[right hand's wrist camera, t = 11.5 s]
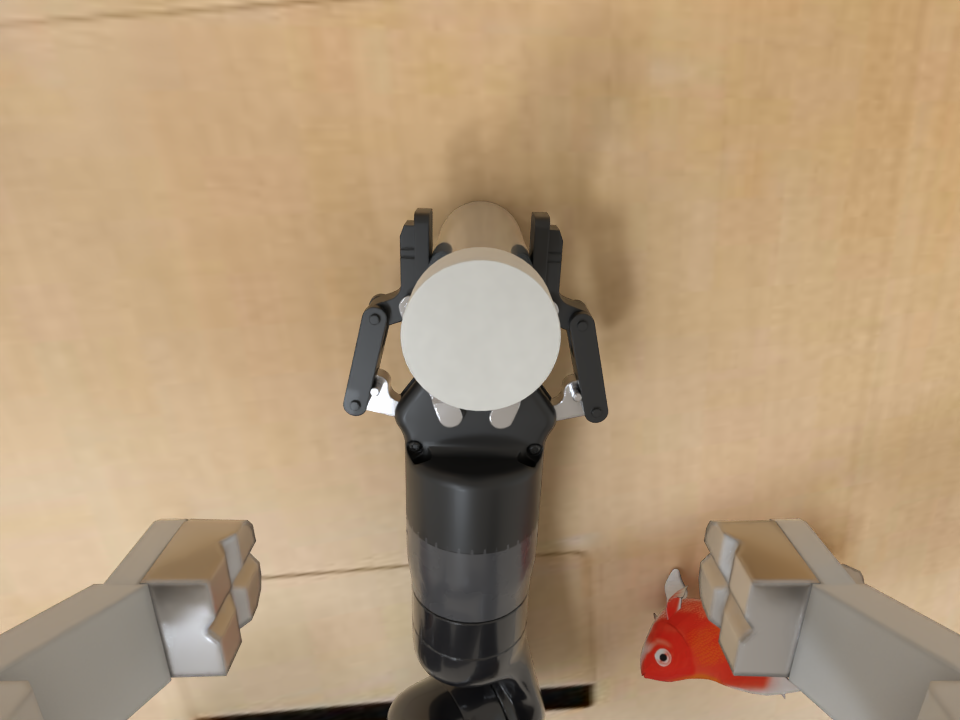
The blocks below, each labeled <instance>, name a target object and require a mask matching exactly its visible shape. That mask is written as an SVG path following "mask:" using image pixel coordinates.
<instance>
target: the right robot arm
mask: <svg viewBox="0 0 960 720" xmlns="http://www.w3.org/2000/svg"><path fill="white" fill-rule="evenodd" d="M255 542H256V539H255V534H254V529H253V525H252V524H251V523H250V522H249V521H248V520H216V519H190V520H188V519H160V520H157V521H155V522H153V523H152V524H151V526H150V527H149V528H148V529H147V531H146V532H145V533H144V534H143V536H142V537H141V538H140V539H139V541H138V542H137V543H136V544H135V546H134V547H133V548H132V549H131V550H130V552H129V553H128V554H127V555H126V557H125V558H124V559H123V560H122V562H121V563H120V564H119V565H118V567H117V568H116V569H115V570H114V572H113V573H112V574H111V575H110V576H109V578H108V579H107V580H106V581H105V583H104V584H93V585H91V586H89V587H88V588H86V589H84V590H82V591H80V592H78V593H76V594H75V595H73V596H71V597H69V598H67V599H65V600H63V601H62V602H60V603H58V604H56V605H54V606H52V607H51V608H49V609H47V610H45V611H43V612H41V613H39V614H38V615H36V616H34V617H32V618H30V619H28V620H26V621H25V622H23V623H21V624H19V625H17V626H15V627H14V628H12V629H10V630H8V631H6V632H4V633H2V634H1V635H0V720H127V719H128V718H129V717H131V716H132V715H133V714H134V713H135V712H136V711H137V710H139V709H140V708H141V707H142V706H143V705H144V704H145V703H146V702H148V701H149V700H150V699H151V698H152V697H153V696H154V695H155V694H157V693H158V692H159V691H160V690H161V689H162V688H163V687H164V686H166V685H167V684H168V683H169V682H170V681H171V677H202V676H226V675H227V673H228V671H229V669H230V667H231V664H232V662H233V660H234V658H235V656H236V653H237V651H238V649H239V647H240V645H241V643H242V639H241V634H240V628H242V627H243V626H244V625H246V624H247V623H248V622H250V621H251V620H252V618H253V616H254V613H255V611H256V609H257V606H258V601H259V596H260V591H261V570H260V563H259V561H258V560H256V559H255V558H254V557H253V556H252V555H251V554H250V551H251V549H252V547H253V545H254V544H255ZM704 542H705V544H706V545H707V547H708V549H709V551H710V554H709V555H708V556H707V557H706V558H704V559H703V560H702V561H701V563H700V571H699V591H700V598H701V602H702V605H703V609H704V611H705V613H706V616H707V618H708V620H709V621H710V622H712V623H713V624H714V625H716V626H717V627H718V628H720V634H719V639H718V643H719V645H720V647H721V649H722V651H723V653H724V656H725V658H726V660H727V662H728V664H729V666H730V669H731V671H732V673H733V675H734V676H757V677H789V681H790V682H791V683H792V684H794V685H795V686H796V687H797V688H798V689H799V690H800V691H801V692H803V693H804V694H805V695H806V696H807V697H808V698H809V699H810V700H812V701H813V702H814V703H815V704H816V705H817V706H818V707H819V708H821V709H822V710H823V711H824V712H825V713H826V714H827V715H829V716H830V717H831V718H832V719H833V720H960V635H959V634H957V633H955V632H954V631H952V630H950V629H948V628H946V627H944V626H943V625H941V624H939V623H937V622H935V621H933V620H931V619H930V618H928V617H926V616H924V615H922V614H920V613H919V612H917V611H915V610H913V609H911V608H909V607H908V606H906V605H904V604H902V603H900V602H898V601H896V600H895V599H893V598H891V597H889V596H887V595H885V594H884V593H882V592H880V591H878V590H876V589H874V588H872V587H871V586H869V585H867V584H856V583H855V581H854V580H853V579H852V578H851V576H850V575H849V574H848V573H847V572H846V570H845V569H844V568H843V567H842V565H841V564H840V563H839V562H838V560H837V559H836V558H835V557H834V556H833V554H832V553H831V552H830V551H829V549H828V548H827V547H826V546H825V544H824V543H823V542H822V541H821V539H820V538H819V537H818V536H817V535H816V533H815V532H814V531H813V530H812V528H811V527H810V526H809V525H808V523H807V522H805V521H803V520H801V519H770V520H746V521H710V522H709V524H708V526H707V528H706V533H705V539H704Z"/></svg>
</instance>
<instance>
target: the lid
mask: <svg viewBox="0 0 960 720" xmlns="http://www.w3.org/2000/svg"><path fill="white" fill-rule="evenodd" d="M560 343H561V329H560V321H559V317H558V313H557V311H556V308H555V305H554V303H553V300H552V298H551V295H550V293H549V290H548V288H547V286H546V284H545V283H544V281H543V279H542V278H541V277H540V275H539V274H538V273H537V271H535V270H534V269H533V268H532V267H531V266H530V265H529V264H528V263H527V262H525V261H524V260H523V259H521V258H519V257H517V256H516V255H514V254H511V253H509V252H506V251H504V250H500V249H496V248H488V247H473V248H466V249H462V250H458V251H455V252H452V253H450V254H448V255H446V256H444V257H442V258H441V259H439V260H437V261H436V262H435V263H434V264H432V265H431V266H430V267H429V268H428V269H427V270H426V271H425V272H424V273H423V274H422V276H421V277H420V279H419V280H418V281H417V283H416V285H415V287H414V289H413V291H412V294H411V296H410V299H409V301H408V304H407V307H406V309H405V312H404V315H403V319H402V324H401V347H402V351H403V356H404V358H405V361H406V364H407V366H408V368H409V370H410V372H411V373H412V375H413V376H414V378H415V379H416V381H417V382H418V383H419V384H420V385H421V386H422V387H423V388H424V389H425V390H426V391H427V392H428V393H430V394H431V395H432V396H434V397H435V398H437V399H438V400H440V401H442V402H444V403H446V404H448V405H451V406H454V407H457V408H461V409H465V410H473V411H489V410H496V409H500V408H504V407H508V406H510V405H513V404H515V403H517V402H519V401H521V400H523V399H525V398H526V397H528V396H529V395H530V394H532V393H533V392H534V391H535V390H536V389H538V388H539V387H540V386H541V384H542V383H543V382H544V381H545V380H546V379H547V377H548V375H549V374H550V372H551V371H552V369H553V367H554V365H555V363H556V360H557V357H558V354H559V349H560Z"/></svg>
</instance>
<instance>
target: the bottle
mask: <svg viewBox="0 0 960 720" xmlns="http://www.w3.org/2000/svg"><path fill="white" fill-rule="evenodd" d="M473 247H488V248H496V249H500V250H504V251H506V252H509V253H511V254H514V255H516V256H517V257H519V258H521V259H523V260H524V261H525V262H527V263H528V264H529V265H530V266H531V267H532V268H533V265H532V262H531V259H530V256H529V253H528V250H527V247H526V245H525V242H524V239H523V236H522V233H521V230H520V228H519V225H518V223H517V222H516V220H515V219H514V217H513V216H512V215H511V214H510V213H509V212H508V211H507V210H506V209H504V208H503V207H501V206H499V205H497V204H494V203H491V202H486V201H475V202H470V203H467V204H464V205H462V206H460V207H458V208H457V209H455V210H454V211H453V212H452V213H451V214H450V215H449V216H448V217H447V219H446V220H445V222H444V223H443V225H442V228H441V230H440V233H439V236H438V239H437V242H436V245H435V248H434V251H433V254H432V257H431V260H430V262H429V265H428V268H429V267H430V266H431V265H432V264H434V263H435V262H436V261H437V260H439V259H441V258H442V257H444V256H446V255H448V254H450V253H452V252H455V251H458V250H462V249H466V248H473ZM428 268H427V269H428ZM533 269H534V268H533Z"/></svg>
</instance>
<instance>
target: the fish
mask: <svg viewBox="0 0 960 720" xmlns="http://www.w3.org/2000/svg"><path fill="white" fill-rule="evenodd" d="M841 565H842V567H843V568H844V569H845V570H846V572H847V573H848V574H849V575H850V576H851V578H852V579H853V580H854V581H855V583H856V584H864V579H863V576H862V574H861V572H860V571H858V570H856V569H854V568H852V567H849V566H847V565H844V564H841ZM687 586H688V585H687ZM687 586H686V587H685V585H684V583H683V581H682V579H681V576H680V572H679V570H678V569H674V570H672V572H671V573H670V575H669V577H668V579H667V581H666V584H665V594H666V597H667V605H666V608H665V609H664V610H663V611H662V612H660V613H659V615H658V616H657V615H656V614H655V613H654V618H655V621H654V623H653V624H652V626H651V629H650V631H649V633H648V635H647V638H646V640H645V643H644V645H643V649H642V652H641V659H640V665H641V674H642V676H643V675H644V677H645V678H648V679H654V680H658V681H665V682H673V681H679V680H684V679H709V680H713V681H716V682H718V683H720V684H723V685H725V686H728V687H731V688H734V689H737V690H741V691H745V692H749V693H753V694H760V695H777V694H782V696H783V697H784V698H785V694H786V693H792V692H797V691H800V690H799V689H798V688H797V687H796V686H795V685H794V684H792V683H791V682H790V681H789V679H788V678H787V677H757V676H734V675H733V673H732V671H731V669H730V666H729V664H728V662H727V660H726V658H725V656H724V653H723V651H722V649H721V647H720V645H719V643H718V639H719V634H720V628H718V627H717V626H716V625H714V624H713V623H712V622H710V621H709V620H708V618H707V616H706V613H705V611H704V609H703V605H702V602H701V599H694V598H687V599H686V597H687V589H686V588H687Z"/></svg>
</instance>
